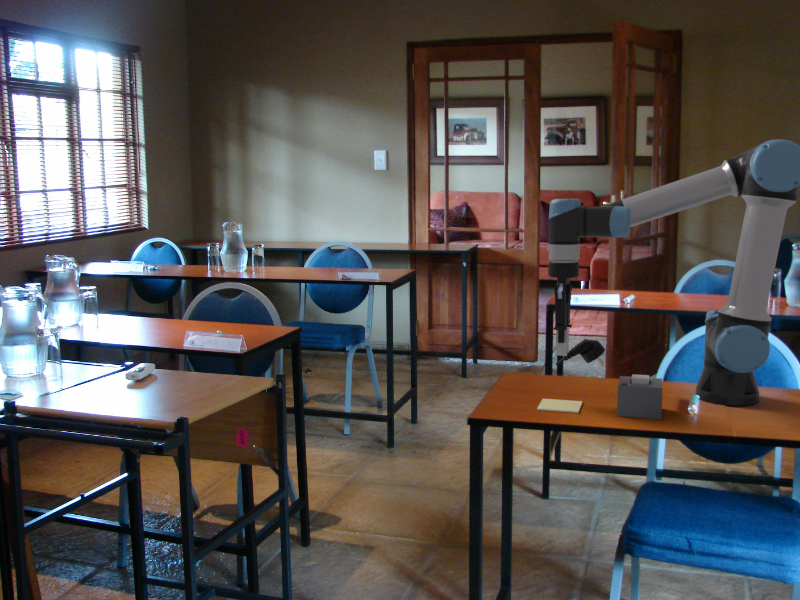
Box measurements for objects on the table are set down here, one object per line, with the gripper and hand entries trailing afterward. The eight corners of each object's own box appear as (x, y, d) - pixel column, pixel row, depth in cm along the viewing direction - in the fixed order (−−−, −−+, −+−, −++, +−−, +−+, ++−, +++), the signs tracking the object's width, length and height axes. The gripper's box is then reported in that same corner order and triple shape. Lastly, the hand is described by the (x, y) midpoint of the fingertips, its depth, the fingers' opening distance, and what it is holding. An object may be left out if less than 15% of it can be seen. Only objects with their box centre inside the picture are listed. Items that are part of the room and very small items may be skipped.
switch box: (661, 408, 191) (662, 376, 190) (661, 419, 182) (662, 385, 181) (619, 405, 195) (620, 373, 194) (617, 416, 185) (617, 382, 184)
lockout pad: (582, 402, 197) (582, 401, 197) (578, 413, 188) (578, 411, 188) (542, 400, 201) (542, 398, 201) (536, 410, 191) (536, 408, 191)
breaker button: (648, 391, 189) (649, 375, 188) (648, 395, 185) (649, 379, 185) (631, 390, 190) (632, 374, 190) (631, 394, 186) (631, 378, 186)
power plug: (554, 359, 200) (592, 331, 196) (572, 382, 200) (611, 355, 196) (553, 365, 194) (593, 337, 191) (572, 388, 194) (612, 361, 191)
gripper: (552, 258, 201) (551, 348, 205) (543, 263, 187) (542, 359, 191) (582, 259, 199) (580, 349, 202) (575, 263, 185) (573, 361, 188)
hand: (562, 354), depth 196 cm, fingers closed on power plug, 2 cm apart
